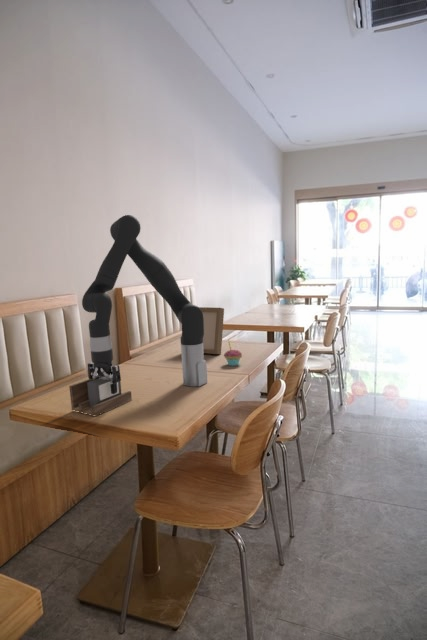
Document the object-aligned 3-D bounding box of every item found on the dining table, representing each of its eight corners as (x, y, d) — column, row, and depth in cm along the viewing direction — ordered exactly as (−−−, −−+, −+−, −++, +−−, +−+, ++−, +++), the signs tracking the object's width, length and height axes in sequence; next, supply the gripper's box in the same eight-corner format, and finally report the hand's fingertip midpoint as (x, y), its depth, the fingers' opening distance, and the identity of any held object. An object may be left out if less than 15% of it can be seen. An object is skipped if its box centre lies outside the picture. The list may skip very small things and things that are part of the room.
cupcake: (222, 366, 201) (220, 341, 200) (228, 361, 209) (227, 338, 207) (239, 367, 198) (238, 342, 196) (244, 362, 206) (243, 338, 204)
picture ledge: (131, 400, 159) (129, 376, 158) (95, 416, 144) (92, 390, 143) (109, 396, 166) (107, 372, 164) (72, 411, 151) (69, 385, 149)
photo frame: (216, 355, 222) (214, 308, 219) (183, 353, 234) (180, 308, 231) (230, 350, 235) (228, 305, 232) (198, 347, 246) (195, 305, 243)
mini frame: (122, 398, 158) (120, 374, 156) (98, 408, 148) (95, 384, 146) (114, 396, 160) (112, 373, 159) (89, 407, 150) (87, 382, 149)
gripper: (123, 347, 150) (127, 391, 152) (95, 344, 158) (99, 386, 160) (107, 352, 144) (112, 397, 146) (79, 349, 151) (84, 392, 154)
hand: (105, 392), depth 153 cm, fingers open, 8 cm apart
